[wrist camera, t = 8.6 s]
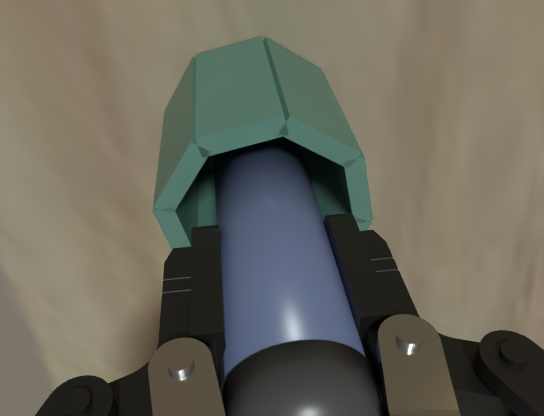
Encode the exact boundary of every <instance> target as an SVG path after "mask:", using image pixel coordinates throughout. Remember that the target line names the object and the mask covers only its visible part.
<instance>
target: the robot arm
mask: <svg viewBox="0 0 544 416" xmlns="http://www.w3.org/2000/svg"><path fill="white" fill-rule="evenodd" d="M324 225H325V228H326V231H327V235H328V238H329V241H330V244H331V247H332V251H333V254H334V257H335V260H336V264H337V267H338V270H339V273H340V276H341V280H342V283H343V286H344V289H345V293H346V296H347V299H348V302H349V305H350V309H351V312H352V315H353V318H354V322H355V325H356V328H357V331H358V334H359V337H360V340H361V344H362V347H363V350H364V353H365V357H366V358H367V359H368V361H369V363H370V364H371V367H372V371H373V374H374V377H375V380H376V383H377V386H378V390H379V393H380V396H381V399H382V402H383V409H384V414H385V416H544V350H543V349H542V348H540V347H539V346H538V345H537V344H535V343H534V342H533V341H531V340H530V339H529V338H527V337H525V336H523V335H521V334H519V333H515V332H512V331H506V330H499V331H493V332H490V333H488V334H487V335H485V336H484V337H483V339H482V340H481V342H480V343H479V342H473V341H467V340H461V339H456V338H451V337H447V336H444V335H442V334H440V333H438V332H437V331H436V329H435V328H434V327H433V326H432V325H431V324H430V323H428V322H427V321H425V320H424V319H422V318H420V316H419V315H418V313H417V310H416V308H415V306H414V304H413V301H412V299H411V297H410V295H409V292H408V290H407V288H406V286H405V283H404V281H403V279H402V277H401V274H400V272H399V271H398V268H397V265H396V263H395V261H394V259H393V258H392V254H391V252H390V250H389V247H388V245H387V243H386V241H385V240H384V239H382V238H381V237H380V236H379V235H378V234H377V233H376V232H375V231H374V230H365V231H360V230H359V227H358V225H357V222H356V220H355V217H354V215H353V214H352V213H346V214H335V215H326V216H325V218H324ZM163 280H164V281H163V290H162V292H163V294H162V303H161V317H160V331H159V342H158V347H157V349H156V351H155V352H154V354H153V355H152V357H151V359H150V360H149V362H148V363H147V364H146V365H144V366H143V367H142V368H141V369H139V370H137V371H136V372H134V373H132V374H130V375H127V376H125V377H122V378H120V379H118V380H115V381H113V382H110V383H107V382H106V381H105V380H103V379H102V378H99V377H96V376H89V375H86V376H79V377H75V378H73V379H70V380H68V381H66V382H64V383H63V384H61V385H60V386H59V387H57V388H56V389H55V390H54V391H53V392H52V393H51V395H50V396H49V397H48V399H47V400H46V401H45V403H44V404H43V406H42V407H41V408H40V410H39V411H38V412H37V414H36V415H35V416H226V415H225V410H224V406H223V399H222V391H223V386H224V367H223V356H224V352H225V349H226V340H225V322H224V303H223V285H222V267H221V248H220V231H219V225H211V226H200V227H192V230H191V247H181V248H173V250H172V251H171V253H170V255H169V256H168V258H167V259H166V261H165V263H164V276H163Z"/></svg>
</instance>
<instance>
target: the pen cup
mask: <svg viewBox="0 0 544 416" xmlns="http://www.w3.org/2000/svg"><path fill="white" fill-rule="evenodd" d="M279 137H285V138H287V139H289V140H291V141H293V142H295V143H297V144H299V146H300V148H301V151H302V154H303V157H304V160H305V164H306V167H307V170H308V173H309V176H310V180H311V183H312V186H313V189H314V192H315V196H316V199H317V202H318V205H319V209H320V212H321V215H322V218H323V221H324V218H325V216H326V215H335V214H346V213H352V214H353V215H354V217H355V220H356V222H357V225H358V227H359V230H360V231H365V230H366V229H367V228H368V227H369V226H370V225H371V224H372V223H371V221H370V220H373V216H372V208H371V201H370V194H369V187H368V180H367V172H366V165H365V158H364V155H363V153H362V151H361V149H360V147H359V145H358V143H357V141H356V139H355V137H354V134H353V132H352V130H351V128H350V126H349V124H348V122H347V120H346V118H345V116H344V114H343V112H342V110H341V108H340V106H339V104H338V102H337V100H336V98H335V96H334V94H333V92H332V89H331V87H330V85H329V83H328V81H327V79H326V77H325V75H324V73H323V72H322V70H321V68H319V67H317V66H315V65H314V64H312V63H310V62H309V61H307V60H305V59H303V58H302V57H300V56H298V55H296V54H295V53H293V52H291V51H290V50H288V49H286V48H284V47H283V46H281V45H279V44H277V43H276V42H274V41H272V40H271V39H269V38H267V37H265V39H264V41H263V40H262V36H260V37H257V38H253V39H250V40H246V41H242V42H239V43H235V44H232V45H228V46H224V47H221V48H217V49H214V50H210V51H206V52H203V53H199V54H196V58H194V57H193V58H192V60H191V62H190V63H189V65H188V67H187V69H186V71H185V73H184V75H183V77H182V79H181V81H180V82H179V84H178V86H177V88H176V90H175V92H174V94H173V96H172V98H171V100H170V102H169V103H168V105H167V107H166V109H165V112H164V120H163V129H162V137H161V145H160V154H159V162H158V170H157V179H156V187H155V195H154V204H153V213H154V215H155V217H156V219H157V221H158V223H159V225H160V227H161V229H162V231H163V233H164V235H165V237H166V239H167V241H168V243H169V245H170V247H171V249H172V250H173V248H181V247H191V230H192V227H200V226H211V225H217V219H216V198H215V177H214V158H215V154H219V153H223V152H226V151H230V150H234V149H238V148H242V147H245V146H249V145H253V144H257V143H260V142H264V141H268V140H272V139H275V138H279Z"/></svg>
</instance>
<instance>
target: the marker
mask: <svg viewBox="0 0 544 416" xmlns="http://www.w3.org/2000/svg"><path fill="white" fill-rule="evenodd" d="M214 177H215V198H216V219H217V225H219V231H220V248H221V267H222V285H223V303H224V322H225V340H226V349H225V352H224V356H223V367H224V386H223V391H222V399H223V406H224V410H225V415H226V416H385V414H384V409H383V402H382V399H381V396H380V393H379V390H378V386H377V383H376V380H375V377H374V374H373V371H372V367H371V364H370V363H369V361H368V359H367V358H366V357H365V353H364V350H363V347H362V344H361V340H360V337H359V334H358V331H357V328H356V325H355V322H354V318H353V315H352V312H351V309H350V305H349V302H348V299H347V296H346V293H345V289H344V286H343V283H342V280H341V276H340V273H339V270H338V267H337V264H336V260H335V257H334V254H333V251H332V247H331V244H330V241H329V238H328V235H327V231H326V228H325V225H324V221H323V218H322V215H321V212H320V209H319V205H318V202H317V199H316V196H315V192H314V189H313V186H312V183H311V180H310V176H309V173H308V170H307V167H306V164H305V160H304V157H303V154H302V151H301V148H300V146H299V144H297V143H295V142H293V141H291V140H289V139H287V138H285V137H279V138H275V139H272V140H268V141H264V142H260V143H257V144H253V145H249V146H245V147H242V148H238V149H234V150H230V151H226V152H223V153H219V154H215V158H214Z"/></svg>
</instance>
